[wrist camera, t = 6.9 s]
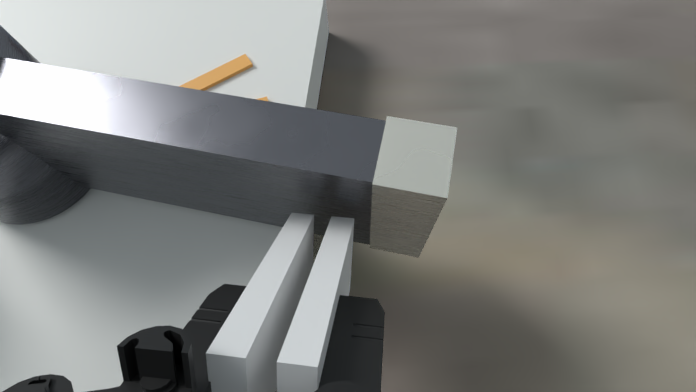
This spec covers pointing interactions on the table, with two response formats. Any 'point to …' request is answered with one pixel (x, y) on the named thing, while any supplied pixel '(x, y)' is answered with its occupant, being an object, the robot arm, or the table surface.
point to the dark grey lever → (213, 154)
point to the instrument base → (135, 213)
